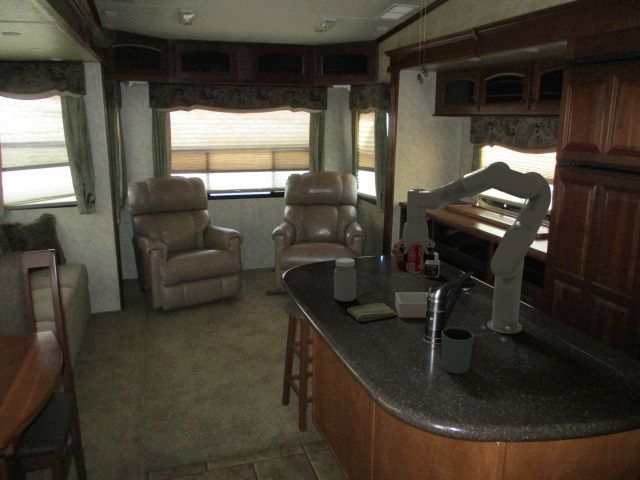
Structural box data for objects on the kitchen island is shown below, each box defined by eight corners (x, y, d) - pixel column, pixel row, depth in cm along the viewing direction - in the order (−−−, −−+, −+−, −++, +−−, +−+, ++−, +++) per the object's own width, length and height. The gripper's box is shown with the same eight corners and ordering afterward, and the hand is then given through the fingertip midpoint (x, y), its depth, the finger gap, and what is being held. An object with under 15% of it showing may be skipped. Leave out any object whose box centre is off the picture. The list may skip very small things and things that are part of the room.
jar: (359, 300, 236) (360, 261, 231) (339, 303, 232) (339, 264, 228) (350, 294, 244) (350, 256, 240) (330, 297, 241) (330, 258, 237)
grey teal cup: (448, 358, 179) (450, 324, 177) (477, 366, 173) (479, 332, 170) (434, 369, 172) (435, 334, 169) (464, 378, 165) (466, 342, 163)
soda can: (422, 269, 221) (423, 240, 219) (424, 274, 214) (425, 245, 212) (405, 268, 222) (406, 240, 219) (406, 273, 215) (407, 244, 212)
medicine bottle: (423, 276, 269) (424, 253, 266) (425, 273, 276) (426, 250, 273) (438, 278, 267) (439, 254, 264) (439, 274, 274) (440, 251, 271)
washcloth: (398, 317, 217) (398, 310, 216) (359, 324, 210) (359, 316, 210) (382, 307, 229) (383, 300, 228) (345, 313, 222) (345, 305, 222)
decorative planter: (420, 261, 298) (421, 236, 295) (430, 266, 287) (431, 241, 284) (387, 263, 293) (387, 239, 290) (395, 269, 282) (396, 244, 279)
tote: (432, 317, 215) (433, 303, 214) (399, 317, 216) (399, 303, 214) (426, 305, 229) (427, 292, 227) (395, 305, 229) (395, 292, 228)
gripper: (436, 217, 217) (434, 260, 221) (393, 218, 217) (392, 260, 221) (439, 221, 209) (438, 265, 213) (395, 221, 210) (394, 265, 214)
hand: (415, 262), depth 217 cm, fingers closed on soda can, 6 cm apart
